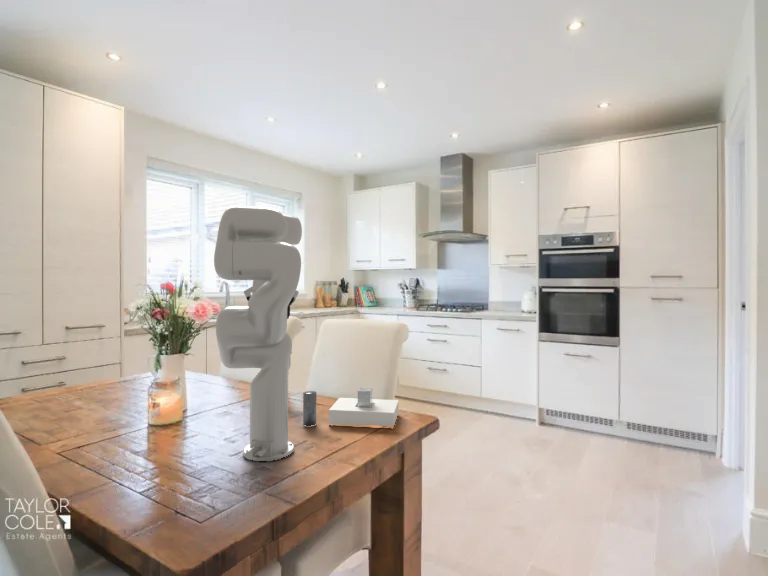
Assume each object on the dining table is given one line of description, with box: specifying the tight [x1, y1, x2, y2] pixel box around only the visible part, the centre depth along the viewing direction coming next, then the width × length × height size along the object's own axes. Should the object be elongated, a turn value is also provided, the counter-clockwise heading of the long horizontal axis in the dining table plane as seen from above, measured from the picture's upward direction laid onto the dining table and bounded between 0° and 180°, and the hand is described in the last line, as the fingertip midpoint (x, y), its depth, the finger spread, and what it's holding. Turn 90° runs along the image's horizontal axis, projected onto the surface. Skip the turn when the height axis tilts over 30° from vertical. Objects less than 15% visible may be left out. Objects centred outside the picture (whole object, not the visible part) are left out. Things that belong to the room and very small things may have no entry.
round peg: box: [302, 390, 317, 426], centre depth 133 cm, size 4×4×10 cm
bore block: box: [328, 397, 399, 426], centre depth 138 cm, size 14×20×5 cm
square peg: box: [357, 387, 373, 408], centre depth 137 cm, size 4×4×10 cm
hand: (270, 318), depth 133 cm, fingers open, 9 cm apart
